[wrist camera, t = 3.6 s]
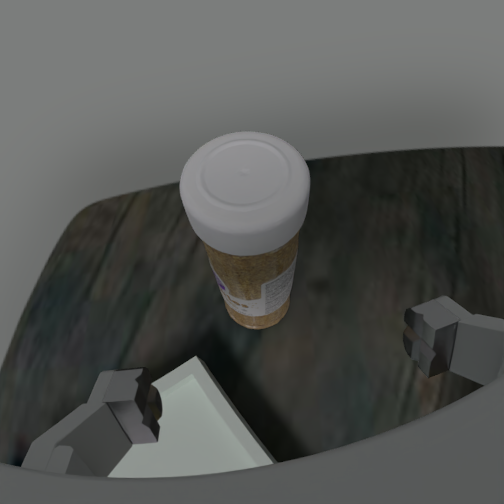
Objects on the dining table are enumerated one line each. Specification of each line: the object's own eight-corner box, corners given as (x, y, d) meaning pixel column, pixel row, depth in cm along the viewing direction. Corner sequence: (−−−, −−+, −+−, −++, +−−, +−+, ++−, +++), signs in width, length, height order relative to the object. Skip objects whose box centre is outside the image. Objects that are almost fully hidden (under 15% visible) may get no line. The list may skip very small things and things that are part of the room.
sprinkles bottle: (212, 298, 23) (152, 173, 11) (259, 257, 24) (247, 110, 12) (256, 345, 21) (237, 258, 9) (304, 300, 22) (339, 171, 10)
